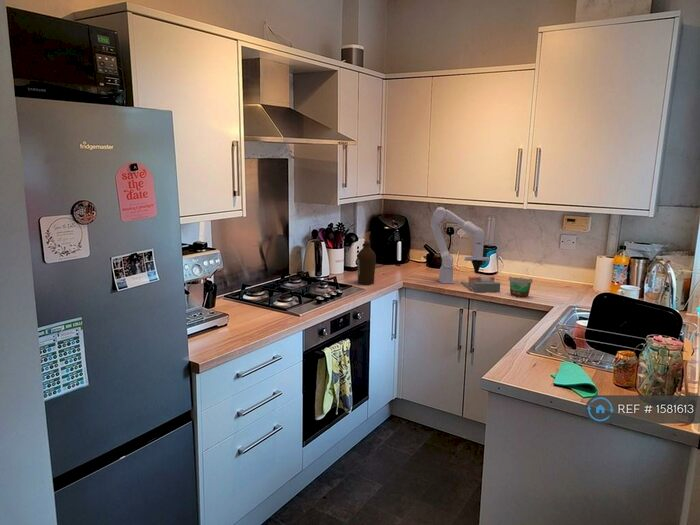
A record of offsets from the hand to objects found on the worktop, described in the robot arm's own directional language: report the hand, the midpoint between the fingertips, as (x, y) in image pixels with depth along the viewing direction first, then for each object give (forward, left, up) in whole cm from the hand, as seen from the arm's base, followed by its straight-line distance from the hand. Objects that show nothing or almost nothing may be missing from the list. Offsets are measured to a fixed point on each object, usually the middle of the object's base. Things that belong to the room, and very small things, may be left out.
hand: (476, 273), depth 296 cm
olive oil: (-4, -64, -7) cm, 64 cm away
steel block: (+13, 0, -7) cm, 14 cm away
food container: (+27, +14, -7) cm, 31 cm away
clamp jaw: (+9, 0, -7) cm, 11 cm away
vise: (+9, 0, -7) cm, 11 cm away
